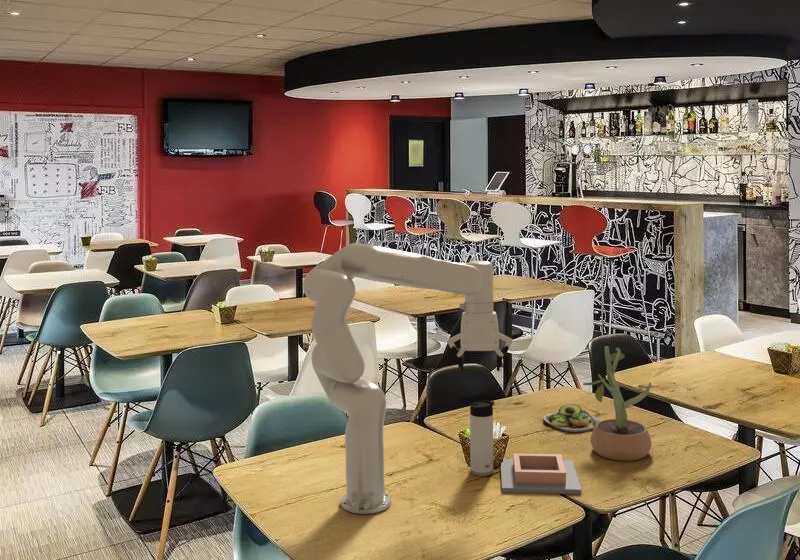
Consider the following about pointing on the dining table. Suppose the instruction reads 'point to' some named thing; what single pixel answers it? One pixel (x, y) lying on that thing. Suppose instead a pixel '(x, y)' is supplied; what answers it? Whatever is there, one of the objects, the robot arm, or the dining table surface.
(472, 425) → the travel mug
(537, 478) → the collar plate
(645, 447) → the potted plant
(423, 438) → the dining table surface
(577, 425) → the salad plate
